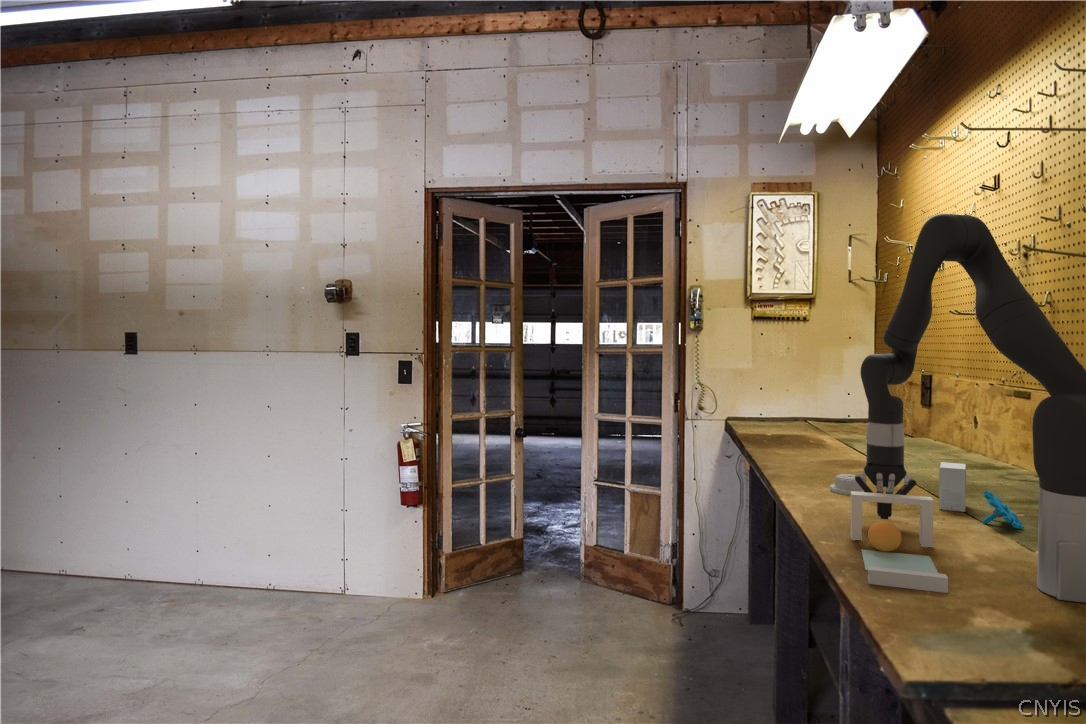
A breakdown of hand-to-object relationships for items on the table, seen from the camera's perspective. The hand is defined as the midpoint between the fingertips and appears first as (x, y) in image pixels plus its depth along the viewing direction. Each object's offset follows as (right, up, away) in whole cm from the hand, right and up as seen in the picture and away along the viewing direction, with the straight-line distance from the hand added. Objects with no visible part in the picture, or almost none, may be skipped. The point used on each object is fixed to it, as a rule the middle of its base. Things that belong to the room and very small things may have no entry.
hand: (884, 518), depth 152 cm
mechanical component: (+7, -1, +32) cm, 33 cm away
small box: (+24, -1, +14) cm, 28 cm away
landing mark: (-10, -3, -25) cm, 27 cm away
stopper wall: (-14, -3, -36) cm, 39 cm away
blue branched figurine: (+26, -2, -1) cm, 26 cm away
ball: (-9, +1, -18) cm, 20 cm away
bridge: (-5, -2, -12) cm, 13 cm away
